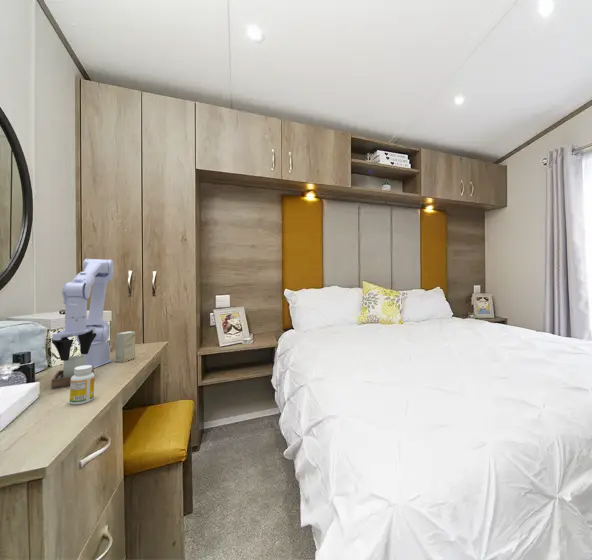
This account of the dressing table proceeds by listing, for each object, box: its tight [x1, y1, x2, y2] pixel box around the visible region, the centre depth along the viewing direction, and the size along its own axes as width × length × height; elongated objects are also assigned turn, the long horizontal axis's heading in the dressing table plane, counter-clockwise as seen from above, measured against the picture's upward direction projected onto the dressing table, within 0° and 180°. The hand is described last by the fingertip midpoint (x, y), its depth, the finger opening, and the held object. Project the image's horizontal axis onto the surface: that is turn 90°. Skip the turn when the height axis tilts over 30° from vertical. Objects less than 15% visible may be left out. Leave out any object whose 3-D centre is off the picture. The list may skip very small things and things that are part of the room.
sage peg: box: [63, 355, 86, 378], centre depth 89 cm, size 4×4×8 cm
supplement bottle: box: [69, 365, 96, 406], centre depth 75 cm, size 5×5×10 cm
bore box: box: [51, 366, 95, 390], centre depth 89 cm, size 10×10×3 cm
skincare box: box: [115, 330, 136, 363], centre depth 114 cm, size 6×4×12 cm
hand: (75, 357), depth 90 cm, fingers open, 7 cm apart
